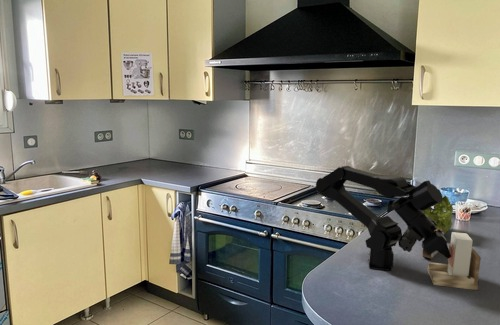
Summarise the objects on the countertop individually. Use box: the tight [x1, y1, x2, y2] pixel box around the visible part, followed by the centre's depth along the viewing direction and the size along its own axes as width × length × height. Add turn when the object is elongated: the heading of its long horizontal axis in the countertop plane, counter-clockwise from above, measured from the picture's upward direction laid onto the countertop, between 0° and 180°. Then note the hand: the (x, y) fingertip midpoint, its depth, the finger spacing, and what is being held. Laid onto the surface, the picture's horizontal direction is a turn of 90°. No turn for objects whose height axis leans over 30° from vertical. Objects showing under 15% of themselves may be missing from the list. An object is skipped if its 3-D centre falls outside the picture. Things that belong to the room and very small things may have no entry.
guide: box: [426, 246, 482, 291], centre depth 119 cm, size 11×10×9 cm
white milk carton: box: [447, 231, 474, 277], centre depth 118 cm, size 4×6×12 cm
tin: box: [422, 228, 445, 260], centre depth 137 cm, size 15×3×8 cm, turn 141°
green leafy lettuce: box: [423, 195, 454, 235], centre depth 158 cm, size 18×16×16 cm
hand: (449, 257), depth 118 cm, fingers closed
